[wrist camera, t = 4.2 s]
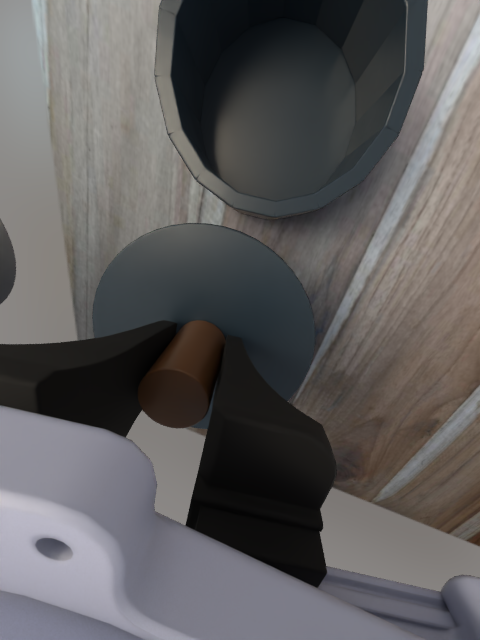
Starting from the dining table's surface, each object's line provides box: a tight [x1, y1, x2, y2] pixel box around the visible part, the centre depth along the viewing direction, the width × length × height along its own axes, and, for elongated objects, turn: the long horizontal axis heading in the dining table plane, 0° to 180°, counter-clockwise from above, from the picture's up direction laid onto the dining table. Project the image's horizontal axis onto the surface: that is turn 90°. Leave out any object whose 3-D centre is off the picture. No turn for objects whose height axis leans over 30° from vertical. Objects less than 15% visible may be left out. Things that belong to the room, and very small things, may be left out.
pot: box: [154, 0, 428, 220], centre depth 12 cm, size 10×10×5 cm
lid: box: [92, 223, 315, 429], centre depth 11 cm, size 11×11×5 cm
